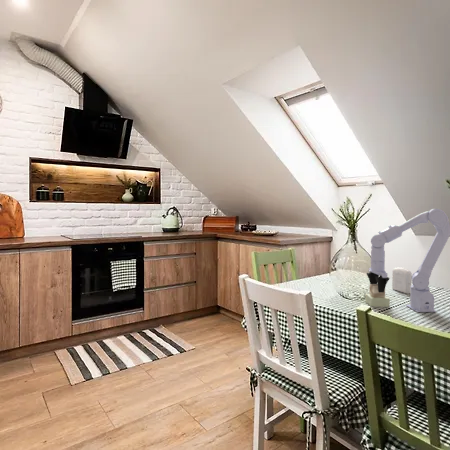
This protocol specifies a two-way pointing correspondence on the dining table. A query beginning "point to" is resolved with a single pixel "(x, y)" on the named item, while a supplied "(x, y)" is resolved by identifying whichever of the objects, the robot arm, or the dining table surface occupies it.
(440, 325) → the dining table surface
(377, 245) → the robot arm
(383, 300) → the sage base block
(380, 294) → the cream cube
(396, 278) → the photo printer
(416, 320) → the dining table surface
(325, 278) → the dining table surface
